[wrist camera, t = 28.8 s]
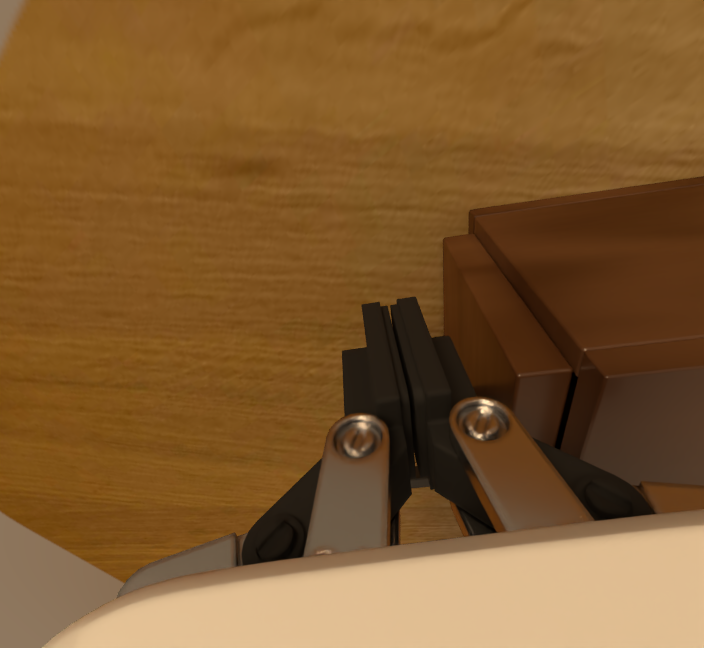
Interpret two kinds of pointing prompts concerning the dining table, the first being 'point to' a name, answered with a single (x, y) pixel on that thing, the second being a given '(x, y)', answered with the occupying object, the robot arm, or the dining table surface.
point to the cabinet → (618, 317)
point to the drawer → (501, 342)
